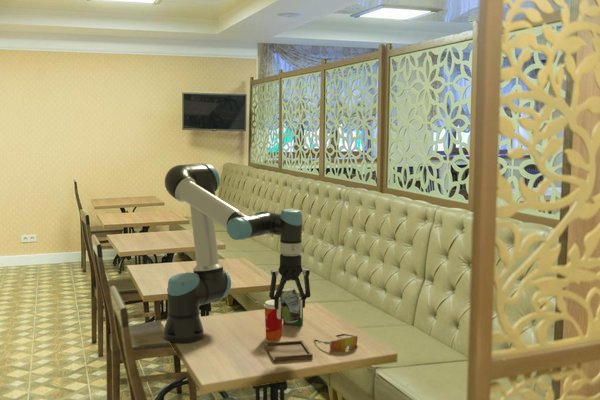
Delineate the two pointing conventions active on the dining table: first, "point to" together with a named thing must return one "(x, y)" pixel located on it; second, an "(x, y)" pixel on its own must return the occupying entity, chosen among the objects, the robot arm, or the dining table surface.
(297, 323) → the coffee box
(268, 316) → the paper cup
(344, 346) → the sunglasses
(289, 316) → the beverage can
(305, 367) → the dining table surface
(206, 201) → the robot arm
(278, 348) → the far tray
